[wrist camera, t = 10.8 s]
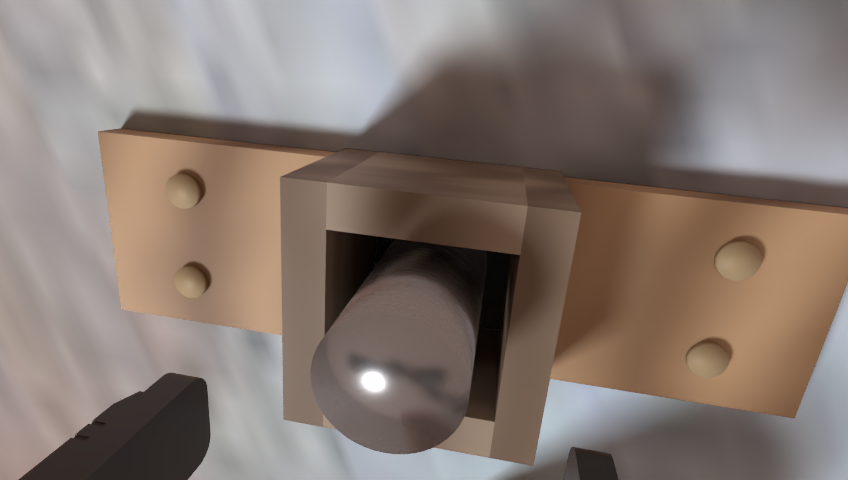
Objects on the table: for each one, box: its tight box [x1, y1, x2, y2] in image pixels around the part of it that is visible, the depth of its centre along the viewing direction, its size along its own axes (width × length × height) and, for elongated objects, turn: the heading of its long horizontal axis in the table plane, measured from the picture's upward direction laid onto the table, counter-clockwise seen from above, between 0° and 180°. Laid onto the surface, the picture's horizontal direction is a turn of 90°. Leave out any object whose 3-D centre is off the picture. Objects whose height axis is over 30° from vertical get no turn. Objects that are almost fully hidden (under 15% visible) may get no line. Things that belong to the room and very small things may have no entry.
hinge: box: [98, 129, 848, 466], centre depth 18 cm, size 28×8×6 cm, turn 86°
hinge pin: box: [310, 239, 487, 454], centre depth 16 cm, size 4×4×9 cm
